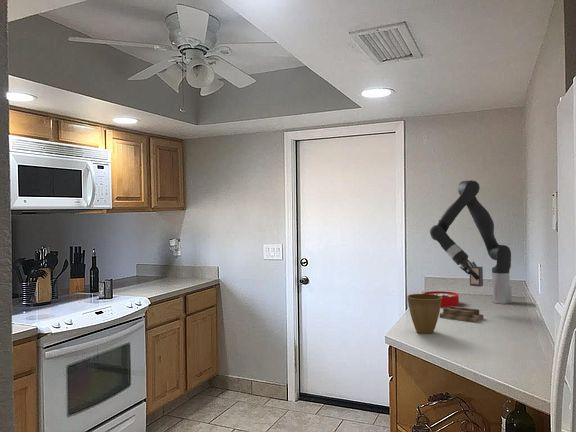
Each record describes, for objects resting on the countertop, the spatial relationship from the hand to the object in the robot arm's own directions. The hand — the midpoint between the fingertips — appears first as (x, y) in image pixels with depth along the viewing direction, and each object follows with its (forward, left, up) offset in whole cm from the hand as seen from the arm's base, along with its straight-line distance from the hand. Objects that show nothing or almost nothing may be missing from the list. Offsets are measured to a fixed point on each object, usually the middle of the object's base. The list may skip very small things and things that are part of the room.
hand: (479, 278), depth 248 cm
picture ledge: (+14, +12, -18) cm, 26 cm away
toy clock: (+13, -26, -18) cm, 34 cm away
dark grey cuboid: (+1, -1, -4) cm, 5 cm away
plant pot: (+39, +37, -18) cm, 57 cm away
